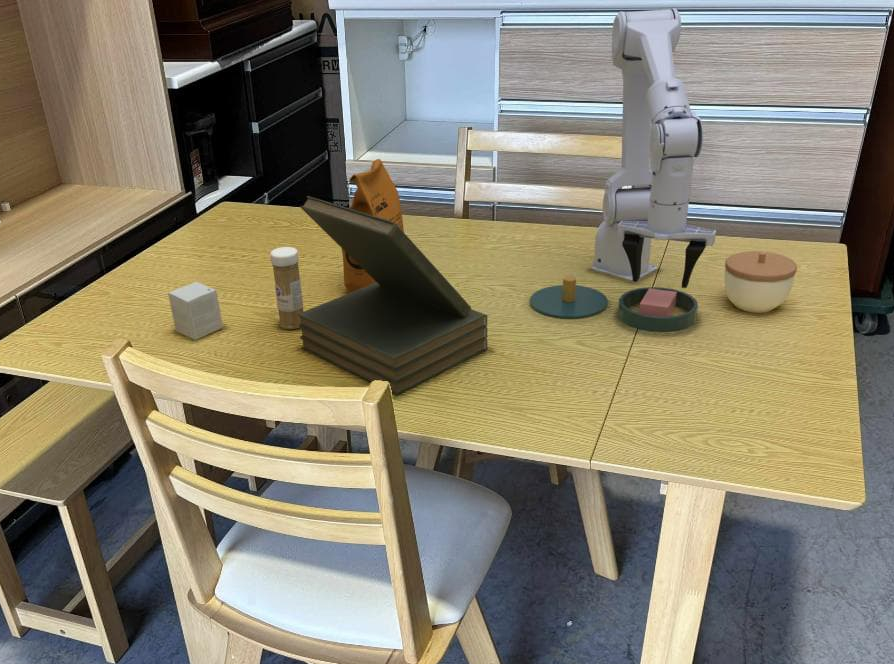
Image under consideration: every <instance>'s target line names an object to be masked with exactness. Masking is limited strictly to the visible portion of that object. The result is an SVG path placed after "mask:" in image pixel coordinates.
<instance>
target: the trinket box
mask: <svg viewBox="0 0 894 664" xmlns="http://www.w3.org/2000/svg"><path fill="white" fill-rule="evenodd" d="M724 263H725V265H724V277H723V284H724V291H725V295H726V296H727V298H728V300H729V301H730V302H731V303H732V304H733V305H734V306H735V308H737V309H739V310H741V311H744V312H747V313H757V314H761V313H767V312H768V313H769V312H770V311H773V310H774V309H775V308H778V307H779V306H780V305H782V304H783V303H784V301H786V299H788V298H787V297H789V294H790V293H791V291H792V287H793V284H794V281H795V275H796V273H797V269H798V265H797V263H796V261H794V260H793V259H792V258H790V257H788V256H786V255H782V254H779V253H775V252H771V251H760V250H759V251H757V250H754V251H753V250H751V251H749V250H748V251H741V252H737V253H734V254H731V255H729V256H728V257H727V258H726V259H725V262H724Z"/></svg>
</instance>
